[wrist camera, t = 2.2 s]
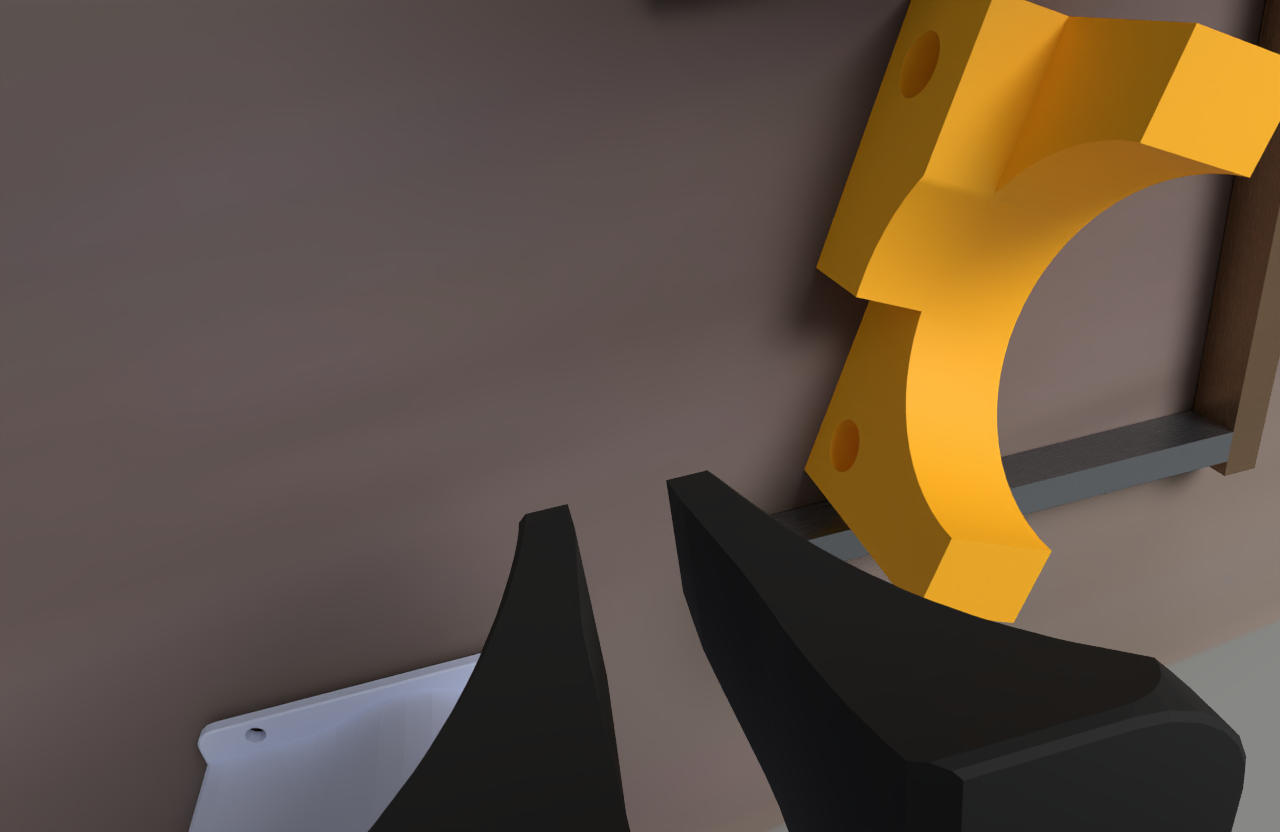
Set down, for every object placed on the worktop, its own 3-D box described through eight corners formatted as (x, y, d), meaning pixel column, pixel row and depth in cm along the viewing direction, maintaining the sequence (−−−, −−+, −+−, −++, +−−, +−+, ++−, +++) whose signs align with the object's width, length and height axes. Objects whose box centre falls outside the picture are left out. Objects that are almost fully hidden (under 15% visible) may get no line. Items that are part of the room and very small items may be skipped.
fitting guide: (740, 566, 25) (757, 597, 24) (664, -113, 17) (684, -120, 16) (1214, 444, 27) (1254, 467, 26) (1343, -218, 19) (1410, -233, 18)
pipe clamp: (912, -11, 19) (1113, -9, 14) (1067, 42, 21) (1309, 66, 15) (745, 459, 24) (845, 607, 18) (881, 478, 25) (1013, 622, 20)
